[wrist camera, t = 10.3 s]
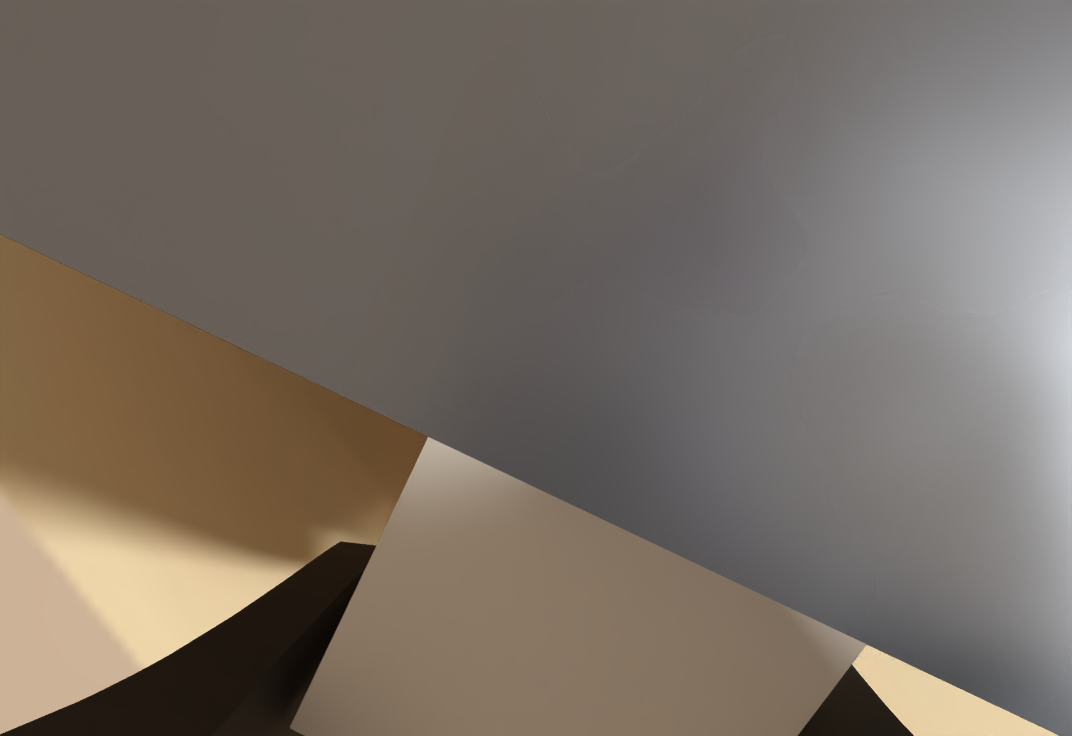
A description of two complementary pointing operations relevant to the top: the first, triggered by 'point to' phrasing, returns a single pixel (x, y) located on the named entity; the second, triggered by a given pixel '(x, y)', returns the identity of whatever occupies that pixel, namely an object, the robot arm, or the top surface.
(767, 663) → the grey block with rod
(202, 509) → the top surface
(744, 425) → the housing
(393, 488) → the top surface
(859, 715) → the robot arm
